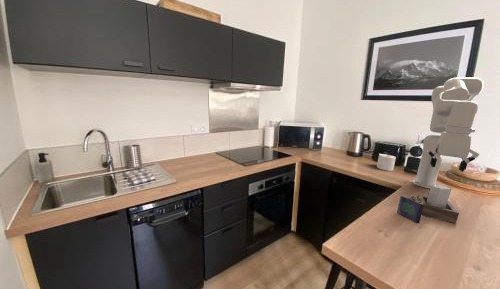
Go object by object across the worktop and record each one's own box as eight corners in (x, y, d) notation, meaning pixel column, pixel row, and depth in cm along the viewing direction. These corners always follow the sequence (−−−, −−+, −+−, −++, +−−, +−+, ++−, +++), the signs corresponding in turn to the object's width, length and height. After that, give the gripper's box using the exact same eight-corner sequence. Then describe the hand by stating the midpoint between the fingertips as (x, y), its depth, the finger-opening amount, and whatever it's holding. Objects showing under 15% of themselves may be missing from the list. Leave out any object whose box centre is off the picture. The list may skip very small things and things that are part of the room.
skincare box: (435, 208, 100) (442, 184, 98) (444, 213, 96) (452, 188, 93) (423, 208, 100) (430, 184, 97) (432, 213, 95) (439, 188, 93)
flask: (395, 212, 96) (400, 191, 94) (399, 211, 97) (404, 190, 95) (417, 224, 88) (423, 201, 86) (421, 222, 89) (427, 200, 87)
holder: (415, 203, 106) (417, 194, 105) (446, 210, 100) (448, 201, 99) (421, 215, 95) (423, 205, 94) (455, 223, 90) (459, 213, 89)
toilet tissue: (389, 172, 152) (392, 158, 150) (372, 167, 162) (374, 154, 159) (395, 169, 158) (398, 156, 156) (378, 164, 168) (380, 152, 165)
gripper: (480, 131, 88) (469, 170, 92) (429, 127, 96) (420, 162, 100) (490, 134, 82) (477, 175, 86) (434, 129, 89) (424, 167, 93)
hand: (446, 168), depth 93 cm, fingers open, 9 cm apart
